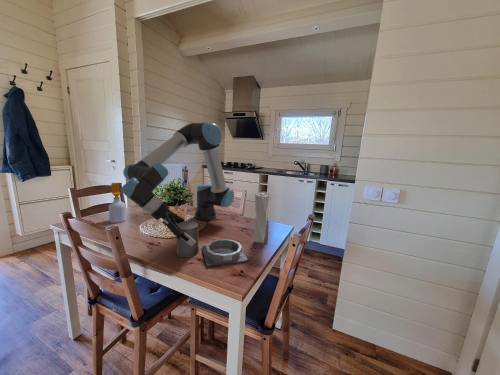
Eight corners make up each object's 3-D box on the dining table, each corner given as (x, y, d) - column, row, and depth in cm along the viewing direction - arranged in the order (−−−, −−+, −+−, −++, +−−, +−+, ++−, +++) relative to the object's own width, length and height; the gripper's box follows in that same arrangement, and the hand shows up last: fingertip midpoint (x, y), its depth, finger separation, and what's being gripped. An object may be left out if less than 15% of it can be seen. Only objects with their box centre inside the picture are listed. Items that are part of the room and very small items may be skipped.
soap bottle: (110, 224, 127) (107, 184, 123) (108, 219, 134) (105, 181, 130) (127, 221, 133) (125, 183, 128) (125, 217, 140) (122, 180, 135)
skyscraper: (266, 245, 110) (270, 192, 105) (251, 243, 111) (254, 191, 106) (268, 238, 118) (271, 189, 113) (253, 236, 120) (256, 188, 114)
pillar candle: (190, 245, 106) (190, 217, 103) (202, 252, 100) (202, 222, 97) (172, 252, 99) (171, 221, 96) (184, 260, 92) (183, 227, 89)
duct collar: (202, 247, 104) (202, 240, 103) (237, 244, 110) (237, 236, 109) (206, 267, 87) (206, 258, 87) (248, 262, 93) (248, 253, 92)
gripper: (153, 206, 102) (185, 232, 110) (145, 224, 79) (187, 256, 86) (164, 195, 103) (196, 222, 110) (160, 210, 80) (201, 243, 87)
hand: (192, 237), depth 98 cm, fingers open, 13 cm apart
